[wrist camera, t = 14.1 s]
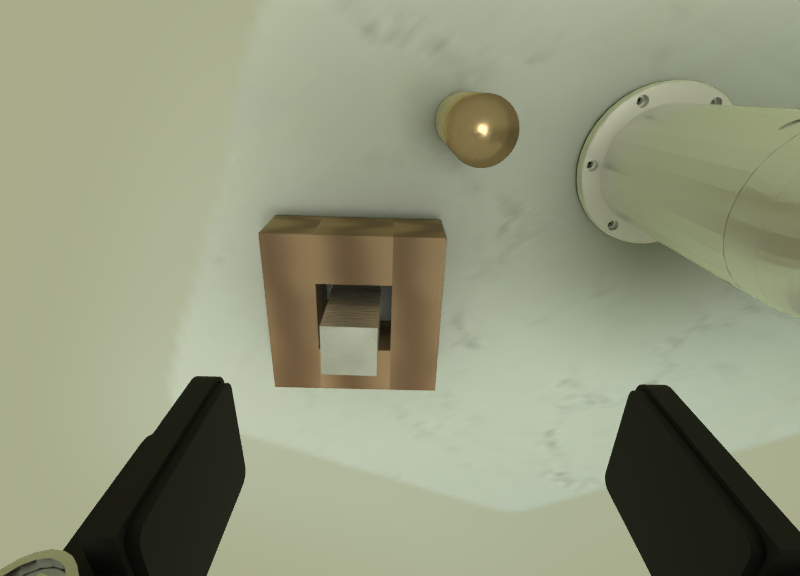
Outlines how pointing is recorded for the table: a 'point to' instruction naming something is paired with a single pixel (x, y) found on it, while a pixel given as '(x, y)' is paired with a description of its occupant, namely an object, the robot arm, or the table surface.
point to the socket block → (354, 265)
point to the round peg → (478, 127)
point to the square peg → (351, 330)
